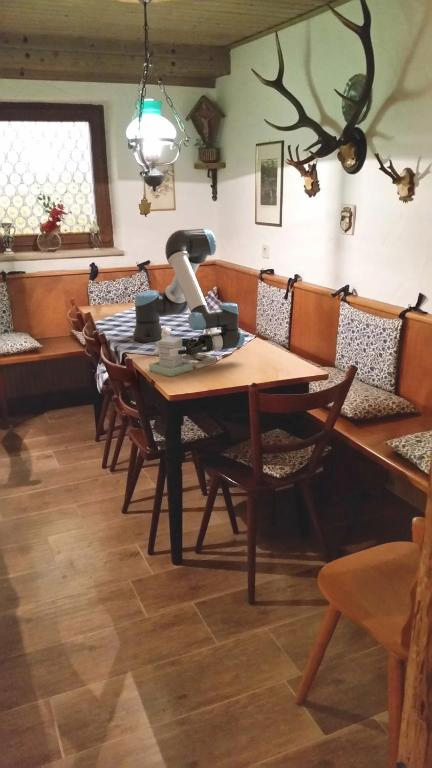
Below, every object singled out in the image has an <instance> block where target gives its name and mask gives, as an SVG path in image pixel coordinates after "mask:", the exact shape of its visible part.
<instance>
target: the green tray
mask: <svg viewBox="0 0 432 768" xmlns="http://www.w3.org/2000/svg"><path fill="white" fill-rule="evenodd" d="M148 366H149V367H148V369H149V372H151V373H155V374H159V375H162V376H166V377H168V378H172V377H175V376H179V375H182V374H184V373H188V372H191V371H193V370H194V369H193V366H192V363H190V362H186V361H183V366H179V367H176V368H173V369H168V368H165V367H161V366H159V360H158V361H155V362H151V363H149V364H148Z"/></svg>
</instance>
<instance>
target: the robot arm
mask: <svg viewBox="0 0 432 768" xmlns="http://www.w3.org/2000/svg"><path fill="white" fill-rule="evenodd" d="M216 250H217V241H216V236H215V234H214V233H213V231H212V230H211V229H207V228H197V229H196V228H195V229H179V230H176V231H174V232H172V234H170V235H169V237H168V238H167V241H166V244H165V250H164V251H165V256H166V261H167V263H168V264H169V265H170V266H172V269H173V273H175V274H174V276H173V278H172V281H171V283H170V284H169V285H167V286H165V289H164V292H163V291H162V292H159V290H156V289H150V290H149V289H148V290H144V291H140V292H138V293H137V294H135V296H134V307H135V309H134V311H135V326H134V331H133V333H132V339H133V341H135V342H139V343H140V342H141V343H153V342H155V343H156V349H158V348H159V341H160V340H162V336H161V334H162V331H163V329H162V326H161V323H160V318H161V317H167V316H169V317H170V316H179V315H181V314H185V313H186V312H187V311H188V309H189V311H190V313H189V315H188V326H189V328H190V329H191V330H193V331H202V330H204V329H210V328H217V329H218V328H220V331H219V332H217V333H211V334H204V335H203V334H200V335H199V336H198V338H197V339H195V338H193V337H188V338H187V337H186V338H184V337H183V338H182V337H180V339H182V348H177V349H170V357H171V356H178V355H190V356H191V355H194V354H197V353H202V354H205V353H209V352H216V353H217V352H218V351H222V350H223V351H224V350H230V349H238V348H242V347H243V346H244V344H245V341H246V339H245V334H244V332H243V331H242V330H240V329H239V314H240V313H239V306H238V304H237V303H234V302H225V303H224V302H223V303H221V304H220V307H219V309H212V310H211V309H210V308H209V307H208V304H207V301H206V299H205V297H204V294H203V292H202V289H201V286H200V285H199V282H198V278H197V277H196V273H197V271H198V269H199V267H200V265H201V264H203V263H204V262H205V261H206V259H207V257H208V256H213V255H215V253H216Z"/></svg>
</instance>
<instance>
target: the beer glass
mask: <svg viewBox="0 0 432 768" xmlns="http://www.w3.org/2000/svg"><path fill="white" fill-rule="evenodd" d="M201 331H202V335H204V334H211V333H218V332H217V331H218V328H210V329H204V330H201Z"/></svg>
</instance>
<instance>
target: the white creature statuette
mask: <svg viewBox="0 0 432 768" xmlns="http://www.w3.org/2000/svg"><path fill="white" fill-rule="evenodd" d="M171 331H172V327H171V328H169V327H167V326H165V327H163V329H162V334H161V336H162V339H164V338H166V337H170V336H171ZM153 354H154V355H155V356H156V355H158V356H159V348H158V349H157V348H155V349H154V350H153Z"/></svg>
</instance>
